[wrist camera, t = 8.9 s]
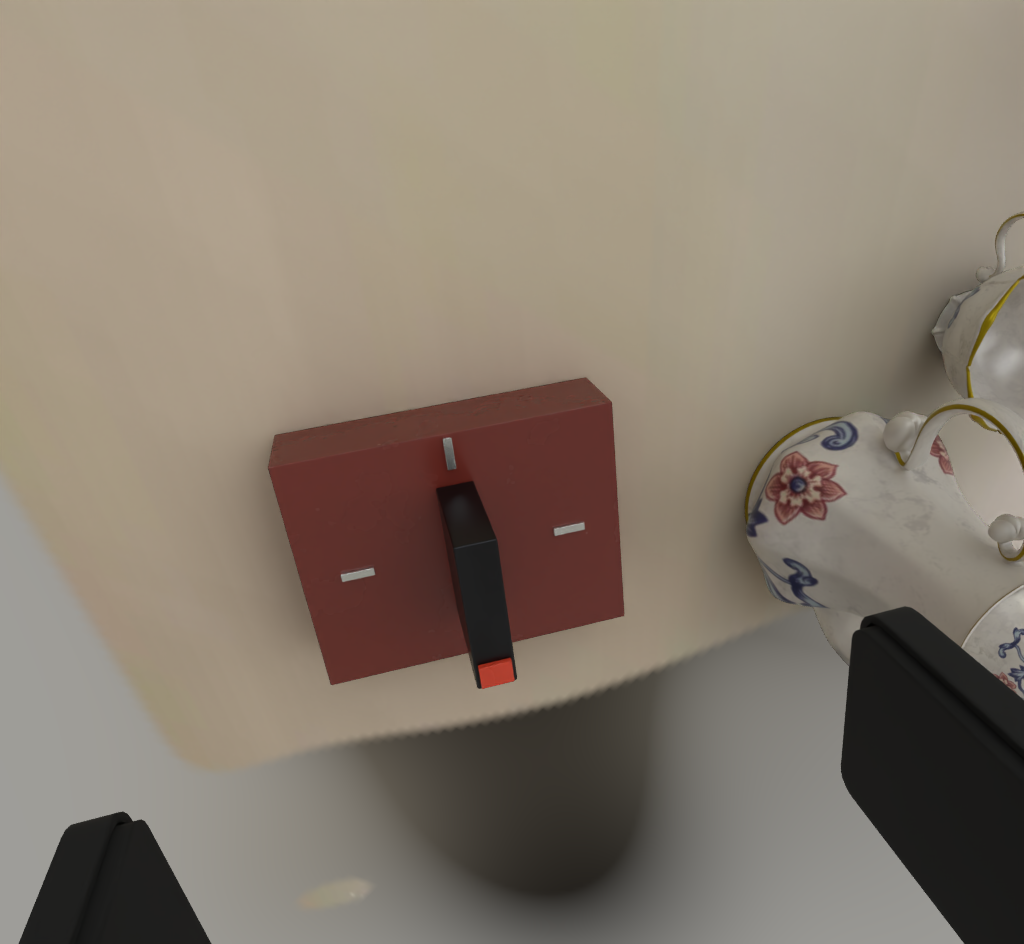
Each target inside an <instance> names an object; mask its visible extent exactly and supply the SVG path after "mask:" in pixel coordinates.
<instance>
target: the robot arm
mask: <svg viewBox="0 0 1024 944" xmlns="http://www.w3.org/2000/svg"><path fill="white" fill-rule="evenodd" d="M841 773H842V778H843V780H844V783H845V786H846V788H847V790H848V791H849V793H850V794H851V796H852V798H853V799H854V800H855V801H856V803H857V804H858V805H859V807H860V808H861V809H862V811H863V812H864V813H865V815H866V816H867V817H868V818H869V820H870V821H871V822H872V824H873V825H874V826H875V828H877V830H878V831H879V833H880V834H881V835H882V837H883V838H884V839H885V841H886V842H887V843H888V845H889V846H890V847H891V848H892V850H893V851H894V852H895V854H896V855H897V856H898V858H899V859H900V860H901V862H902V863H903V864H904V865H905V867H906V868H907V869H908V871H909V872H910V873H911V875H912V876H913V877H914V879H915V880H916V881H917V882H918V884H919V885H920V886H921V888H922V889H923V890H924V892H925V893H926V894H927V895H928V897H929V898H930V899H931V901H932V902H933V903H934V904H935V906H936V907H937V909H938V910H939V911H940V912H941V914H942V915H943V916H944V918H945V919H946V920H947V922H948V923H949V924H950V926H951V927H952V928H953V929H954V931H955V932H956V933H957V935H958V936H959V937H960V939H961V940H962V941H963V942H964V944H1024V700H1023V699H1022V698H1021V697H1020V696H1019V695H1017V694H1016V693H1015V692H1014V691H1013V690H1011V689H1010V688H1009V687H1008V686H1007V685H1005V684H1004V683H1003V682H1002V681H1001V680H999V679H998V678H997V677H996V676H995V675H993V674H992V673H991V672H990V671H989V670H987V669H986V668H985V667H984V666H983V665H981V664H980V663H979V662H978V661H977V660H975V659H974V658H973V657H972V656H971V655H969V654H968V653H967V652H966V651H965V650H963V649H962V648H961V647H960V646H959V645H957V644H956V643H955V642H954V641H953V640H951V639H950V638H949V637H948V636H947V635H945V634H944V633H943V632H942V631H941V630H939V629H938V628H937V627H936V626H935V625H933V624H932V623H931V622H930V621H929V620H927V619H926V618H925V617H924V616H923V615H921V614H920V613H919V612H918V611H916V610H915V609H913V608H911V607H907V606H904V607H900V608H896V609H892V610H888V611H884V612H881V613H877V614H873V615H869V616H866V617H864V619H863V620H862V621H861V625H860V629H859V630H856V631H855V632H854V633H853V636H852V642H851V653H850V665H849V677H848V689H847V702H846V712H845V724H844V736H843V748H842V760H841ZM19 944H211V942H210V940H209V939H208V937H207V935H206V933H205V931H204V929H203V927H202V925H201V924H200V922H199V920H198V918H197V916H196V914H195V912H194V911H193V909H192V907H191V905H190V903H189V901H188V899H187V897H186V896H185V894H184V892H183V890H182V888H181V886H180V884H179V883H178V881H177V879H176V877H175V875H174V873H173V871H172V869H171V868H170V866H169V864H168V862H167V860H166V858H165V856H164V855H163V853H162V851H161V849H160V847H159V845H158V843H157V842H156V840H155V838H154V836H153V834H152V832H151V830H150V828H149V827H148V825H147V824H146V822H145V821H143V820H137V821H132V819H131V818H130V816H129V815H128V814H127V813H125V812H118V813H114V814H111V815H107V816H104V817H99V818H96V819H92V820H88V821H84V822H80V823H76V824H73V825H70V826H69V827H68V828H67V829H66V830H65V832H64V834H63V836H62V838H61V840H60V842H59V845H58V847H57V850H56V852H55V855H54V857H53V860H52V862H51V865H50V867H49V870H48V872H47V875H46V877H45V880H44V882H43V885H42V887H41V889H40V892H39V895H38V897H37V899H36V902H35V904H34V907H33V909H32V912H31V914H30V917H29V919H28V922H27V925H26V927H25V929H24V932H23V934H22V937H21V939H20V942H19Z"/></svg>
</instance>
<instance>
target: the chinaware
mask: <svg viewBox="0 0 1024 944" xmlns="http://www.w3.org/2000/svg"><path fill="white" fill-rule="evenodd" d="M1022 218H1024V212H1020V213H1017V214H1015V215H1013V216H1011V217H1009V218H1008V219H1007V220H1006V221H1005V222H1004V223H1003V224H1002V225H1001V227H1000V228H999V230H998V232H997V235H996V239H995V248H996V253H997V259H998V265H997V269H996V271H995V269H993V268H992V267H987V268H985V267H980V268H979V269H978V270H977V273H976V278H977V280H978V281H979V282H981V283H982V284H980V285H979V286H977V287H976V288H975V289H974V290H972V291H968V292H965V293H962V294H960V295H958V296H955V295H954V296H952V297H951V298H950V302H949V303H948V305H947V306H946V307H945V309H944V310H943V312H942V313H941V315H940V317H939V319H938V321H937V324H936V326H935V328H934V329H933V330H932V334H933V335H934V337H935V341H936V344H937V346H938V348H939V350H940V351H941V352H942V356H943V363H944V367H945V371H946V373H947V376H948V378H949V380H950V382H951V383H952V385H953V387H954V388H955V389H956V391H957V392H958V393H959V394H960V395H961V396H962V397H963V398H964V399H958V400H954V401H951V402H948V403H945V404H943V405H942V406H940V407H938V408H937V409H936V410H934V411H933V412H932V413H931V414H930V415H929V416H928V417H927V416H925V415H922V414H916V413H914V412H911V411H906V412H901V413H899V414H897V415H896V416H894V417H893V418H892V420H888V419H885V418H883V417H881V416H879V415H876V414H874V413H871V412H867V411H858V412H854V413H851V414H848V415H846V416H844V417H831V418H824V419H820V420H816V421H813V422H810V423H808V424H805V425H803V426H801V427H799V428H797V429H795V430H794V431H792V432H791V433H789V434H788V435H786V436H785V437H784V438H782V439H781V440H780V441H779V442H778V443H777V444H775V445H774V446H773V447H772V448H771V450H770V451H769V452H768V453H767V454H766V455H765V457H764V458H763V459H762V461H761V462H760V464H759V465H758V467H757V469H756V470H755V472H754V474H753V476H752V479H751V481H750V484H749V487H748V490H747V494H746V499H745V519H746V524H747V527H746V534H747V538H748V541H749V543H750V544H751V546H752V548H753V549H754V551H755V553H756V555H757V558H758V560H759V562H760V565H761V567H762V570H763V573H764V577H765V580H766V584H767V587H768V589H769V591H770V592H771V594H772V595H773V596H774V597H775V598H777V599H779V600H781V601H783V602H787V603H790V604H796V605H802V606H810V607H813V609H814V611H815V614H816V616H817V618H818V621H819V623H820V626H821V628H822V630H823V632H824V635H825V636H826V638H827V640H828V642H829V643H830V645H831V646H832V648H833V649H834V650H835V651H836V653H837V654H838V655H839V656H840V657H841V658H842V659H843V661H844V662H845V663H846V664H847V665H848V666H849V665H850V653H851V642H852V636H853V633H854V632H855V631H856V630H859V629H860V625H861V621H862V620H863V619H864V617H866V616H869V615H873V614H877V613H881V612H884V611H888V610H892V609H896V608H900V607H904V606H907V607H911V608H913V609H915V610H916V611H918V612H919V613H920V614H921V615H923V616H924V617H925V618H926V619H927V620H929V621H930V622H931V623H932V624H933V625H935V626H936V627H937V628H938V629H939V630H941V631H942V632H943V633H944V634H945V635H947V636H948V637H949V638H950V639H951V640H953V641H954V642H955V643H956V644H957V645H959V646H960V647H961V648H962V649H963V650H965V651H966V652H967V653H968V654H969V655H971V656H972V657H973V658H974V659H975V660H977V661H978V662H979V663H980V664H981V665H983V666H984V667H985V668H986V669H987V670H989V671H990V672H991V673H992V674H993V675H995V676H996V677H997V678H998V679H999V680H1001V681H1002V682H1003V683H1004V684H1005V685H1007V686H1008V687H1009V688H1010V689H1011V690H1013V691H1014V692H1015V693H1016V694H1017V695H1019V696H1020V697H1021V698H1022V699H1023V700H1024V541H1023V544H1022V546H1021V548H1020V549H1019V550H1017V549H1015V548H1014V547H1013V545H1012V542H1011V541H1013V540H1023V539H1024V518H1021V517H1015V516H1013V515H1010V514H1004V515H1001V516H999V517H998V518H997V519H996V520H995V521H994V522H992V523H991V525H990V526H989V527H988V525H987V524H986V523H985V522H984V521H983V520H982V519H981V518H980V517H979V515H978V514H977V513H976V512H975V511H974V509H973V508H972V507H971V506H970V504H969V503H968V502H967V500H966V499H965V497H964V496H963V494H962V492H961V490H960V488H959V486H958V483H957V481H956V478H955V475H954V472H953V469H952V465H951V462H950V459H949V456H948V453H947V450H946V448H945V446H944V444H943V442H942V440H941V439H940V437H939V436H938V435H937V434H938V432H939V431H940V429H941V428H942V427H943V425H944V424H945V423H946V422H947V421H948V420H950V419H951V418H952V417H954V416H956V415H959V414H968V415H969V417H970V418H971V419H972V420H973V421H974V422H977V423H978V424H979V425H980V426H982V427H983V428H985V429H987V430H991V431H994V432H996V431H998V432H999V433H1000V434H1002V435H1004V436H1005V438H1006V439H1007V440H1008V442H1009V443H1010V445H1011V446H1012V448H1013V449H1014V451H1015V453H1016V455H1017V457H1018V459H1019V462H1020V464H1021V467H1022V470H1023V473H1024V266H1021V267H1017V268H1014V269H1011V270H1008V271H1005V272H1003V270H1004V268H1005V264H1006V255H1005V237H1006V234H1007V232H1008V230H1009V229H1010V227H1011V226H1012V225H1013V224H1014V223H1015V222H1016V221H1017V220H1019V219H1022ZM1002 272H1003V273H1002Z"/></svg>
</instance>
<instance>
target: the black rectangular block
mask: <svg viewBox="0 0 1024 944" xmlns="http://www.w3.org/2000/svg"><path fill="white" fill-rule="evenodd" d="M436 493H437V499H438V504H439V510H440V515H441V521H442V526H443V532H444V537H445V543H446V548H447V554H448V559H449V565H450V571H451V576H452V582H453V587H454V593H455V598H456V604H457V609H458V615H459V619H460V623H461V626H462V630H463V634H464V638H465V642H466V646H467V649H468V653H469V657H470V661H471V665H472V669H473V672H474V676H475V680H476V684H477V687H478V688H479V689H480V688H482V689H484V688H488V687H492V686H496V685H500V684H504V683H508V682H512V681H514V680H516V679H517V673H516V666H515V659H514V652H513V646H512V639H511V632H510V625H509V618H508V611H507V604H506V597H505V590H504V583H503V576H502V569H501V562H500V555H499V548H498V542H497V538H496V535H495V533H494V530H493V528H492V526H491V523H490V521H489V518H488V516H487V513H486V511H485V508H484V506H483V503H482V501H481V498H480V496H479V493H478V491H477V489H476V486H475V484H474V482H473V481H470V482H465V483H460V484H455V485H450V486H445V487H440V488H437V489H436Z"/></svg>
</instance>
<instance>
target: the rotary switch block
mask: <svg viewBox="0 0 1024 944" xmlns="http://www.w3.org/2000/svg"><path fill="white" fill-rule="evenodd" d="M268 470H269V473H270V477H271V480H272V484H273V487H274V490H275V494H276V497H277V501H278V504H279V508H280V511H281V515H282V518H283V521H284V525H285V528H286V532H287V535H288V539H289V542H290V546H291V549H292V552H293V556H294V559H295V563H296V566H297V570H298V573H299V577H300V580H301V583H302V587H303V590H304V594H305V597H306V601H307V604H308V608H309V611H310V614H311V618H312V621H313V625H314V628H315V632H316V635H317V639H318V642H319V645H320V649H321V652H322V656H323V659H324V663H325V666H326V669H327V673H328V676H329V680H330V683H331V685H334V684H339V683H343V682H347V681H351V680H356V679H360V678H364V677H368V676H372V675H377V674H381V673H385V672H389V671H394V670H398V669H402V668H406V667H410V666H415V665H419V664H423V663H427V662H431V661H436V660H440V659H444V658H448V657H453V656H457V655H461V654H465V653H468V649H467V646H466V642H465V638H464V634H463V630H462V626H461V623H460V619H459V615H458V609H457V604H456V598H455V593H454V587H453V582H452V576H451V571H450V565H449V559H448V554H447V548H446V543H445V537H444V532H443V526H442V521H441V515H440V510H439V504H438V499H437V493H436V489H437V488H440V487H445V486H450V485H455V484H460V483H465V482H470V481H473V482H474V484H475V486H476V489H477V491H478V493H479V496H480V498H481V501H482V503H483V506H484V508H485V511H486V513H487V516H488V518H489V521H490V523H491V526H492V528H493V530H494V533H495V535H496V538H497V542H498V548H499V555H500V562H501V569H502V576H503V583H504V590H505V597H506V604H507V611H508V618H509V625H510V632H511V639H512V642H516V641H520V640H524V639H529V638H533V637H537V636H541V635H545V634H550V633H554V632H558V631H562V630H567V629H571V628H575V627H579V626H583V625H588V624H592V623H596V622H600V621H604V620H609V619H613V618H617V617H621V616H624V601H623V583H622V566H621V549H620V532H619V515H618V498H617V481H616V464H615V447H614V430H613V413H612V402H611V401H610V400H609V399H608V398H607V397H606V396H605V395H604V394H603V393H602V392H601V391H600V390H599V389H598V388H597V387H596V386H594V385H593V384H592V383H591V382H590V381H589V380H588V379H587V378H581V379H576V380H570V381H565V382H559V383H554V384H549V385H543V386H538V387H532V388H527V389H522V390H516V391H511V392H505V393H500V394H495V395H489V396H484V397H478V398H473V399H468V400H462V401H457V402H451V403H446V404H441V405H435V406H430V407H424V408H419V409H414V410H408V411H403V412H397V413H392V414H387V415H381V416H376V417H370V418H365V419H360V420H354V421H349V422H343V423H338V424H332V425H327V426H322V427H316V428H311V429H305V430H300V431H295V432H289V433H284V434H278V435H275V436H274V441H273V446H272V451H271V456H270V461H269V466H268Z"/></svg>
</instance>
